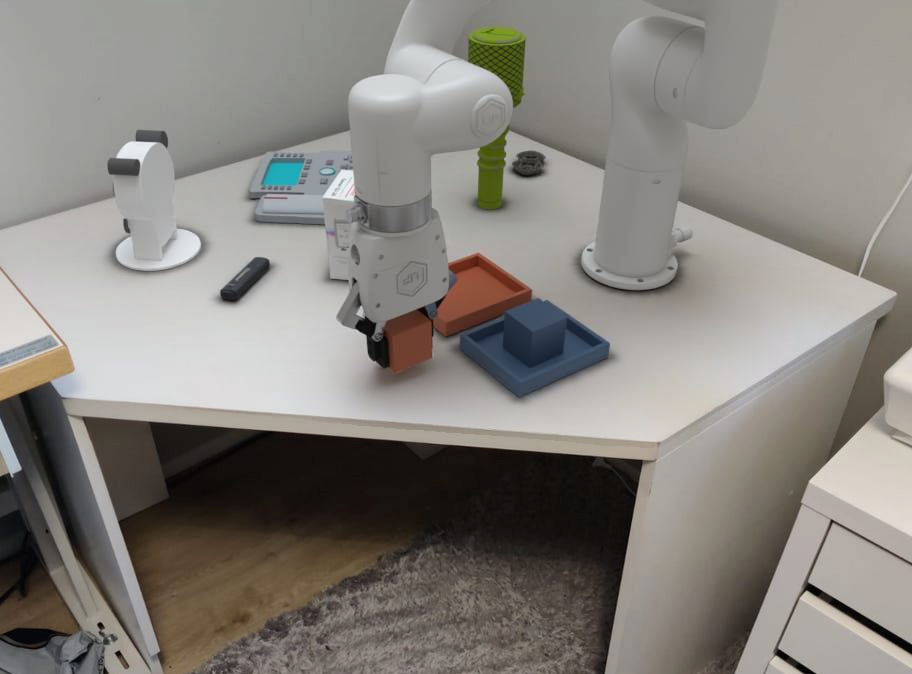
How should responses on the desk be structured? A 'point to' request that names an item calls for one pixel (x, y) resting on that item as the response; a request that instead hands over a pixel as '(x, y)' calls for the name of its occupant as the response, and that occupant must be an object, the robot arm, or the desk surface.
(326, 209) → the ink cartridge box
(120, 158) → the panda figurine
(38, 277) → the desk surface
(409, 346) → the terracotta block
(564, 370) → the slate tray
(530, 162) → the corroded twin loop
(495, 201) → the microphone
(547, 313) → the slate block
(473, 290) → the terracotta tray
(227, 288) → the usb stick
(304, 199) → the office telephone
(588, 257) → the robot arm
